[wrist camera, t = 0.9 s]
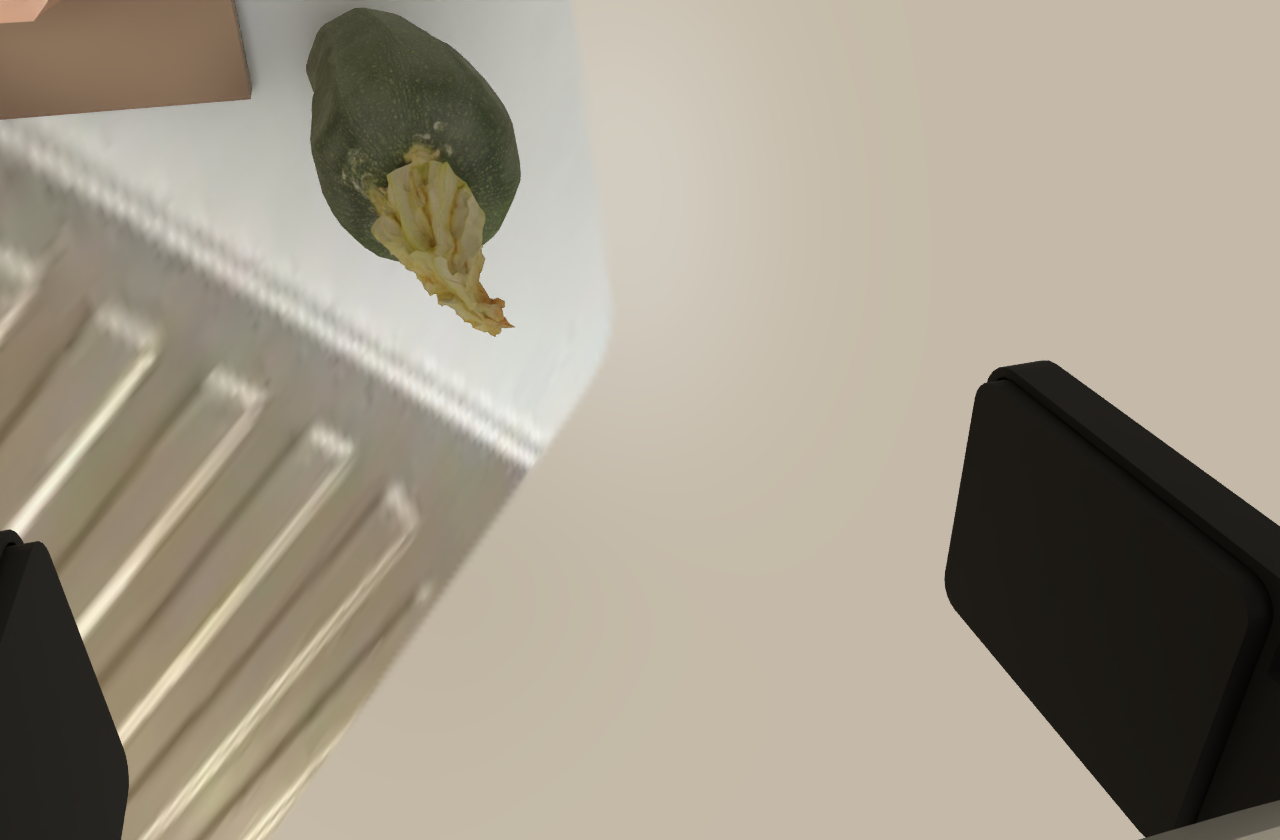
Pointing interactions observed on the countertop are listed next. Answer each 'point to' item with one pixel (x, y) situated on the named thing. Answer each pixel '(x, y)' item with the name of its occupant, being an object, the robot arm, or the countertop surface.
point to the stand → (122, 57)
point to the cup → (24, 9)
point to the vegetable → (413, 153)
